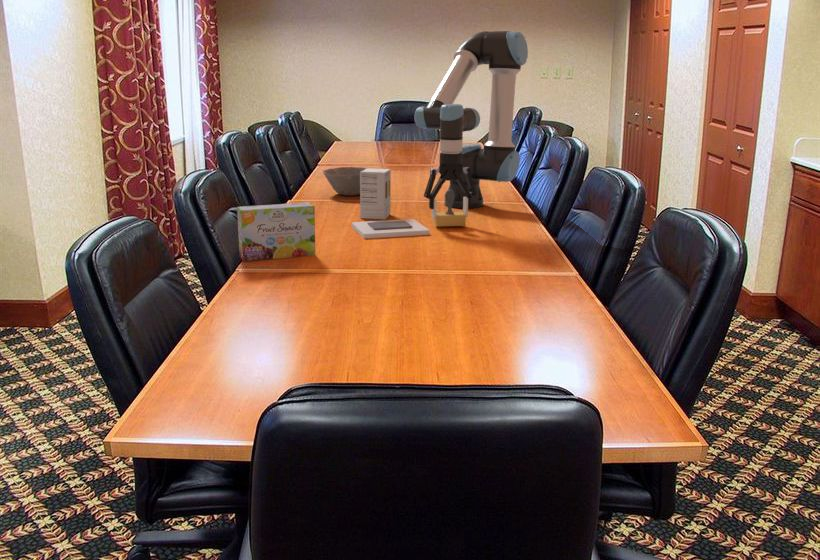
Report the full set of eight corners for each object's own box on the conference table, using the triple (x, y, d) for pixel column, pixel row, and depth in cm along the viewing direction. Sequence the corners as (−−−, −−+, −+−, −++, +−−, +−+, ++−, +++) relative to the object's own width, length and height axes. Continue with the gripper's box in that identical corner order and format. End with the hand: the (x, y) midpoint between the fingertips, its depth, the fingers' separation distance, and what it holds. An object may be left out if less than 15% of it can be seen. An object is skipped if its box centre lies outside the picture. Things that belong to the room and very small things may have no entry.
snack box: (243, 262, 211) (240, 209, 206) (239, 257, 216) (236, 206, 211) (316, 255, 219) (314, 204, 214) (310, 251, 224) (309, 201, 219)
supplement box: (384, 220, 266) (384, 172, 261) (359, 218, 268) (359, 171, 263) (391, 214, 275) (391, 168, 270) (366, 213, 277) (366, 167, 272)
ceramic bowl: (388, 193, 318) (388, 169, 315) (355, 201, 299) (355, 176, 296) (346, 188, 329) (345, 165, 326) (312, 195, 310) (311, 171, 308)
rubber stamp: (436, 226, 253) (437, 191, 249) (433, 222, 258) (434, 188, 255) (465, 225, 254) (466, 190, 250) (462, 222, 260) (463, 187, 256)
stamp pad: (413, 223, 262) (413, 217, 261) (429, 234, 245) (429, 228, 244) (351, 226, 255) (351, 220, 255) (363, 238, 239) (363, 232, 238)
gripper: (479, 149, 255) (477, 213, 262) (414, 151, 249) (414, 217, 256) (487, 152, 249) (485, 217, 255) (421, 154, 242) (420, 221, 249)
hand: (449, 217), depth 255 cm, fingers closed on rubber stamp, 11 cm apart
